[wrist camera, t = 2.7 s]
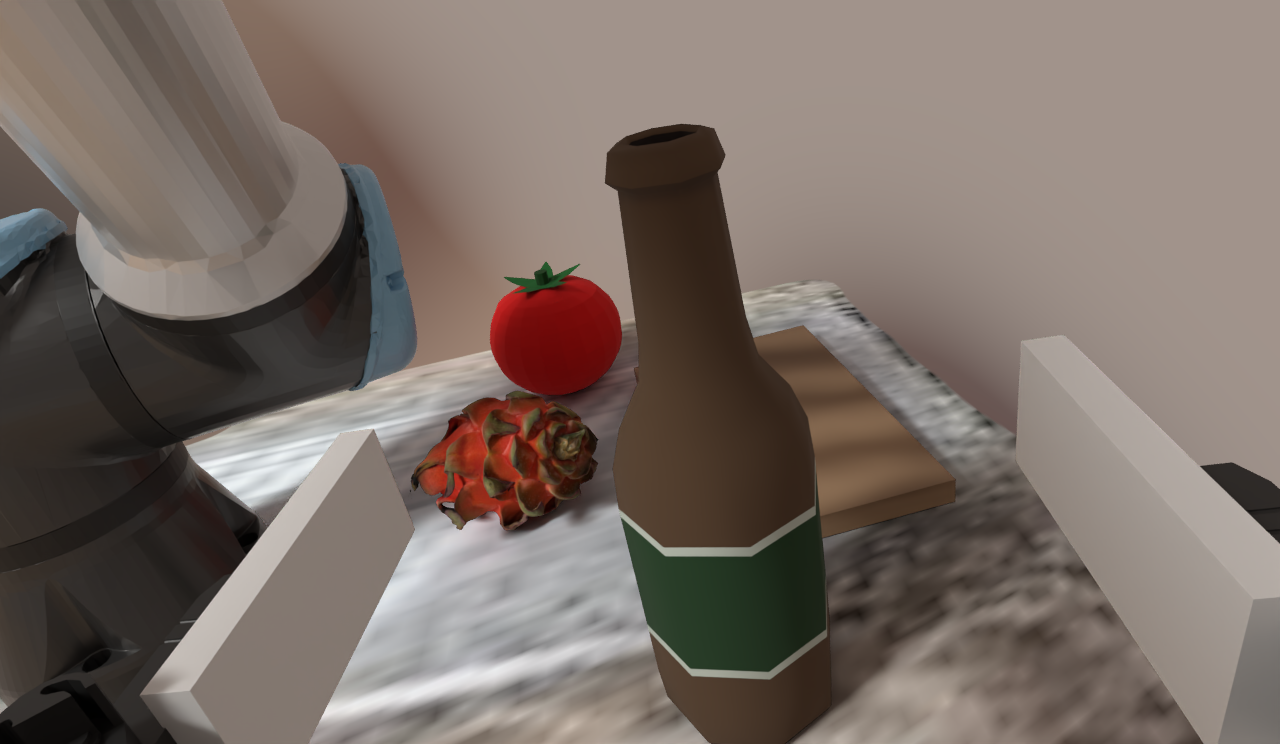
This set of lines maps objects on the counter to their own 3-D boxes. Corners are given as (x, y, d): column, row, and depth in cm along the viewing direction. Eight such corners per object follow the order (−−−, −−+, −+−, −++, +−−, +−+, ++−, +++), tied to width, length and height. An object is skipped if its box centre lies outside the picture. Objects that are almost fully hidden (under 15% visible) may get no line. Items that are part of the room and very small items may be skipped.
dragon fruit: (630, 519, 47) (457, 566, 49) (606, 399, 51) (447, 447, 53) (587, 483, 40) (385, 540, 42) (563, 346, 44) (379, 404, 46)
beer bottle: (800, 594, 37) (743, 92, 26) (872, 727, 30) (836, 124, 19) (649, 637, 37) (526, 142, 26) (688, 783, 30) (542, 192, 19)
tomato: (599, 424, 55) (568, 300, 51) (483, 415, 60) (445, 301, 55) (651, 356, 63) (629, 244, 59) (545, 353, 68) (517, 248, 63)
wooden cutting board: (955, 501, 41) (955, 479, 40) (710, 568, 40) (706, 547, 39) (804, 342, 61) (803, 325, 60) (637, 384, 59) (633, 368, 59)
